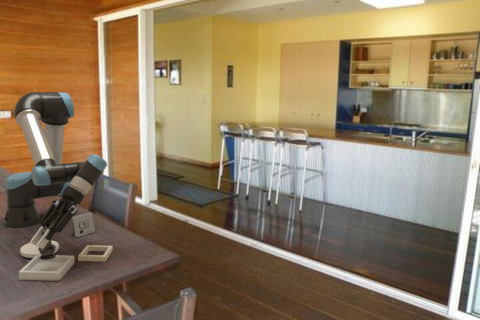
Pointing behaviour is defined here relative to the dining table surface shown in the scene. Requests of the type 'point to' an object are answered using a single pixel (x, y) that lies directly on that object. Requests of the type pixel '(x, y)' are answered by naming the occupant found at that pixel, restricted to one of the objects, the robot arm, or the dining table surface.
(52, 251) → the chess piece
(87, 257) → the socket collar
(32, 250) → the cream gear
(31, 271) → the parts tray
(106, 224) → the dining table surface
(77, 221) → the electrical switch
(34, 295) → the dining table surface
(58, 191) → the robot arm
